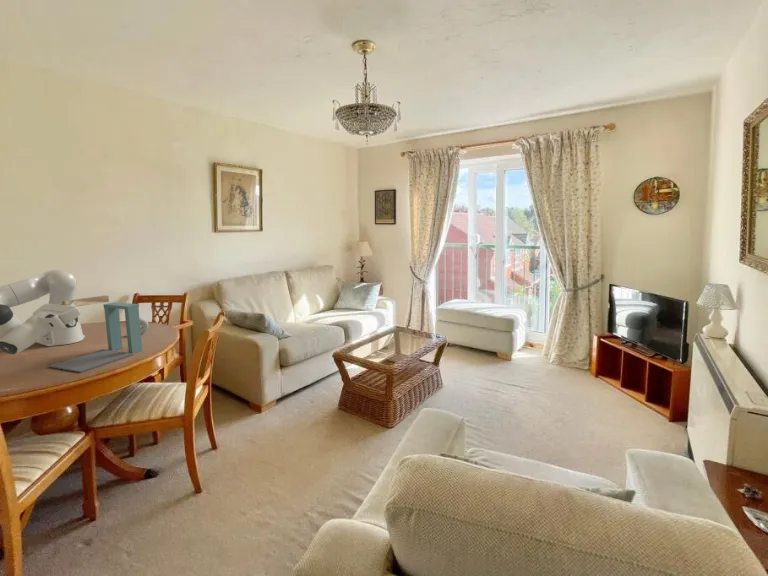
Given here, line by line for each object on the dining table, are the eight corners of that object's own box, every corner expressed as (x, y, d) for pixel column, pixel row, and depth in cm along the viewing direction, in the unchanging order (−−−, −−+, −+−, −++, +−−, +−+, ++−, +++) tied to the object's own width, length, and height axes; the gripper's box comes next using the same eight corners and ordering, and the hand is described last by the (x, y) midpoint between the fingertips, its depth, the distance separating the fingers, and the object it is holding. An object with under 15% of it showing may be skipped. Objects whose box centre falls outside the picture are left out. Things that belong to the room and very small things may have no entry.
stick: (62, 307, 172) (62, 301, 171) (105, 301, 190) (104, 295, 189) (66, 308, 171) (65, 301, 171) (108, 301, 189) (108, 295, 189)
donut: (129, 336, 225) (128, 319, 224) (129, 335, 228) (127, 318, 226) (149, 333, 231) (148, 317, 230) (148, 332, 234) (147, 315, 233)
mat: (48, 367, 176) (48, 365, 176) (103, 350, 199) (103, 349, 199) (80, 372, 170) (80, 371, 170) (133, 355, 193) (133, 353, 193)
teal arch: (108, 350, 200) (103, 304, 196) (119, 347, 205) (114, 302, 202) (132, 354, 195) (127, 306, 191) (142, 350, 200) (138, 304, 197)
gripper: (32, 325, 169) (61, 305, 180) (65, 329, 163) (93, 308, 173) (22, 314, 166) (52, 294, 176) (56, 317, 159) (85, 297, 170)
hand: (73, 301), depth 175 cm, fingers closed on stick, 2 cm apart
